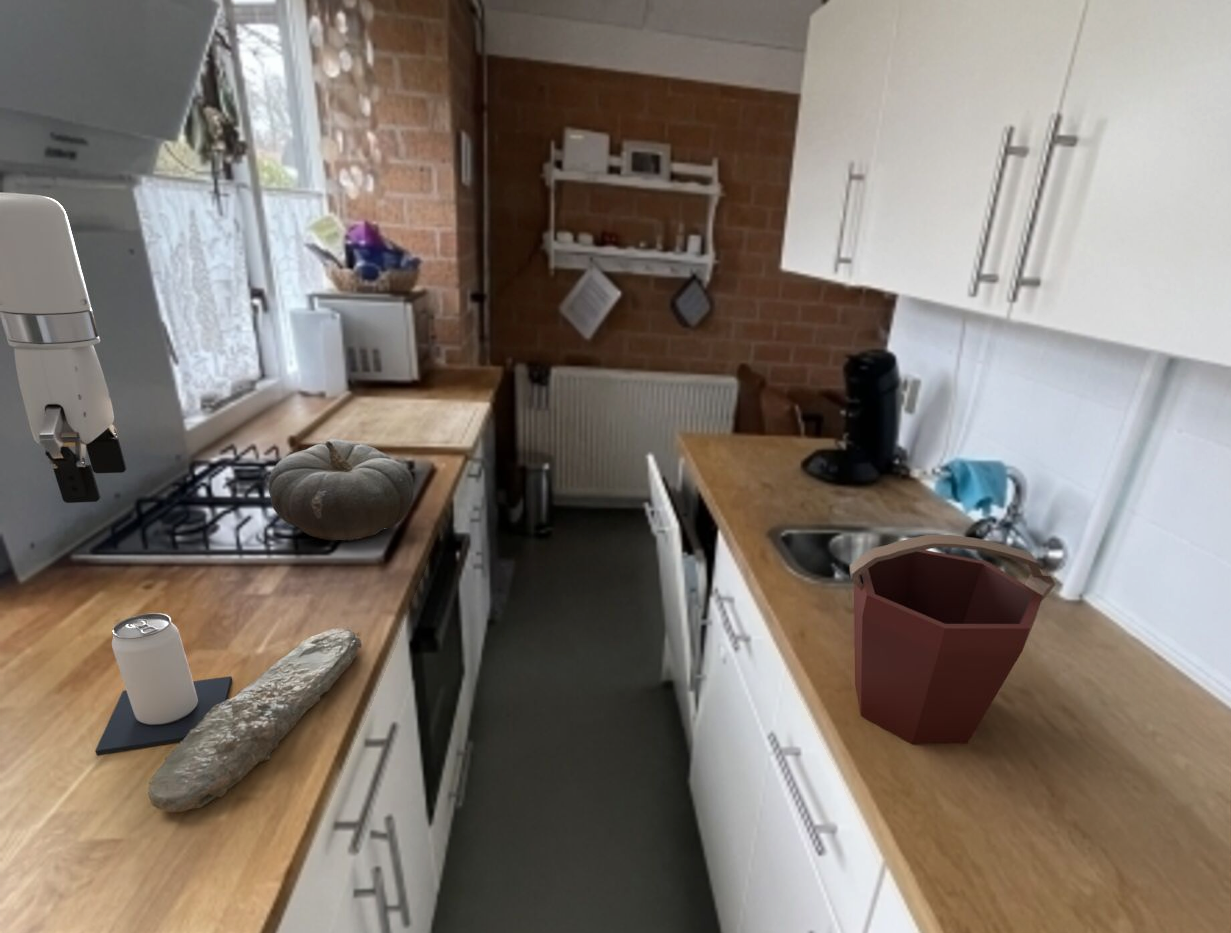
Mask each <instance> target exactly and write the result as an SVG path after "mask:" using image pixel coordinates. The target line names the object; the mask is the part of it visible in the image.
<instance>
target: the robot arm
mask: <svg viewBox="0 0 1231 933" xmlns="http://www.w3.org/2000/svg"><path fill="white" fill-rule="evenodd" d="M94 316H95V315H94V312H93V309H92V304H91V301H90V297H89V294H88V289H87V286H86V282H85V278H84V274H83V271H82V267H81V262H80V259H79V255H78V252H77V248H76V244H75V240H74V237H73V233H72V229H71V225H70V221H69V219H68V215H67V212H66V210H65V209H64V207H63V206H62V205H61V203H59V202H58V201H57V200H55V199H54V198H51V197H48V196H45V195H39V194H30V193H29V194H28V193H18V192H17V193H16V192H0V321H1V324H2V328H3V330H4V333H5V336H6V340H7V344H8V346H11V347H14V348H13V351H14V352H13V354H14V362H15V368H16V374H17V379H18V385H19V389H20V393H21V396H22V401H23V404H24V405H23V406H24V409H25V412H26V417H27V419H28V420H27V421H28V424H29V427H30V431H31V434H32V437H33V440H34V442H35V443H37V444H38V445H41V446H43V448H44V449H45V450H44V451H45V452H44V454H45V456H46V457H47V458H48V459H49V465H50V467H51V468H52V469H53V473H54V476H55V480H56V483H57V486H58V488H59V489H58V490H59V492H60V494H61V498H62V501H63V502H64V503H66V504H73V503H74V504H77V503H96V502H98V501H99V500H100V499H101V494H100V491H99V488H98V484H97V481H96V478H95V474H121V473H125V472H126V470H127V466H126V462H125V458H124V455H123V451H122V447H121V443H120V440H119V438H118V430H117V428H116V427H115V425H114V421H115V414H114V408H113V404H112V400H111V396H110V392H109V388H108V385H107V382H106V378H105V375H104V372H103V370H102V369H103V368H102V366H101V362H100V359H99V357H98V354H97V351H96V348H95V345H98V344H99V343H101V339H100V338H101V337H100V336H99V331H98V328H97V324H96V320H95V317H94ZM71 447H75V448H74V451H73V450H72V449H71ZM74 452H75V453H74ZM87 455H88V458H89V462H90V464H87Z"/></svg>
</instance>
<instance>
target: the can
mask: <svg viewBox="0 0 1231 933" xmlns="http://www.w3.org/2000/svg"><path fill="white" fill-rule="evenodd" d="M111 633H112V635H113V636H112V640H111V646H112V651H113V654H114V657H115V658H114V659H115V660H116V664H117V667H118V670H119V673H120V675H121V679H122V682H123V684H124V688H125V691H127V694H128V697H129V700H130V703H131V706H132V709H133V712H134V714H135V717H136V719H137V720H138V721H139V722H142V723H144V724H147V725H164V724H169V723H173V722H176V721H178V720H180V719H182V718H184V717H186V716H187V715H189V714H190V713H191V712H192V711H193V710H194V709H195V707H196V705H197V703H198V698H197V694H196V691H195V687H194V683H193V681H194V680H193V676H192V672H191V670H190V666H189V665H190V664H189V663H188V658H187V655H186V651H185V648H184V644H183V641H182V637H181V634H180V630H179V629H178V627H177V626H176V624H174V623H173V622H172V618H171V616H169V615H167V614H164V613H160V612H149V613H141V614H137V615H133V616H130V617H127V618H125V619H123V620H121V621H119V622H118V623H116V624H115V625H114V626H113V627H112V630H111Z"/></svg>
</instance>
